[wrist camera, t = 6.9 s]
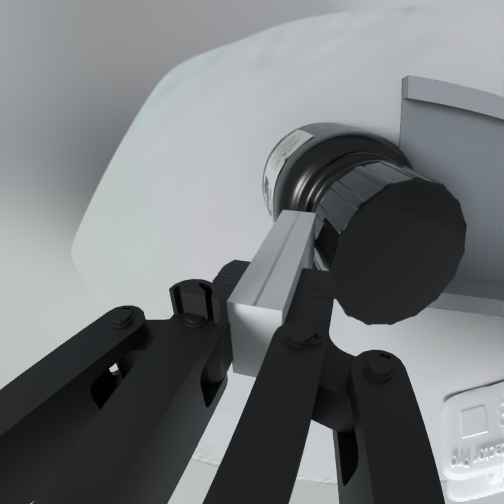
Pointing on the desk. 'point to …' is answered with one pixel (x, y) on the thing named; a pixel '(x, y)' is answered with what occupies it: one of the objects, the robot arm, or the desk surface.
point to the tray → (462, 179)
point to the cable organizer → (474, 443)
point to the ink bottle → (368, 219)
